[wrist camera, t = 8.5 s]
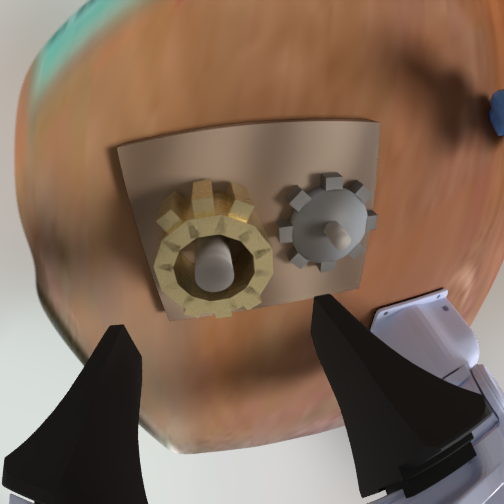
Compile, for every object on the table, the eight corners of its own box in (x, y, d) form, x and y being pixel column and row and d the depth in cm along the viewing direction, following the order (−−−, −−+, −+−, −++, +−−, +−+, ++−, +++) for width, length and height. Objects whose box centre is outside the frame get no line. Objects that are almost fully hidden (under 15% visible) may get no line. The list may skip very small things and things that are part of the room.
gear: (257, 171, 14) (269, 191, 12) (264, 279, 18) (274, 312, 15) (148, 188, 13) (137, 212, 11) (177, 292, 17) (175, 327, 15)
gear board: (370, 119, 14) (419, 136, 10) (353, 280, 21) (380, 320, 17) (122, 143, 13) (92, 167, 9) (169, 311, 19) (167, 361, 16)
